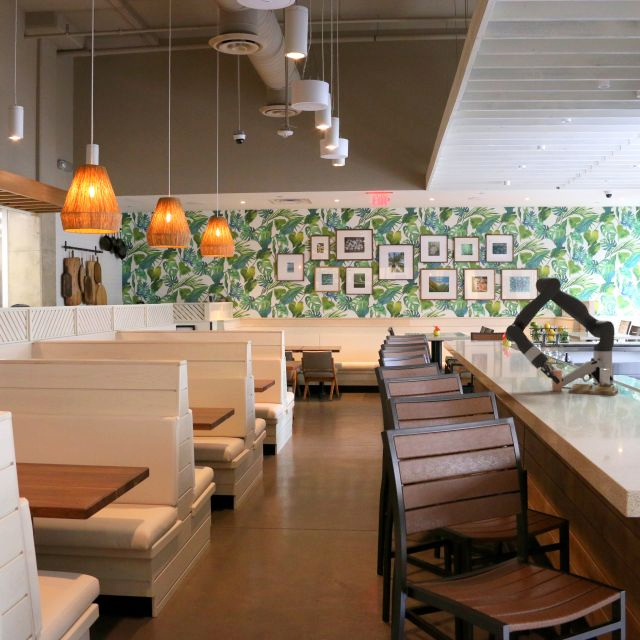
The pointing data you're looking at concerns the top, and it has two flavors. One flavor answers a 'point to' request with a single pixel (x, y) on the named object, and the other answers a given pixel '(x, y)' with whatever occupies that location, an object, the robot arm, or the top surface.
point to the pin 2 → (604, 377)
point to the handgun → (586, 372)
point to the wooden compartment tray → (593, 389)
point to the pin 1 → (559, 386)
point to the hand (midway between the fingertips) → (560, 382)
